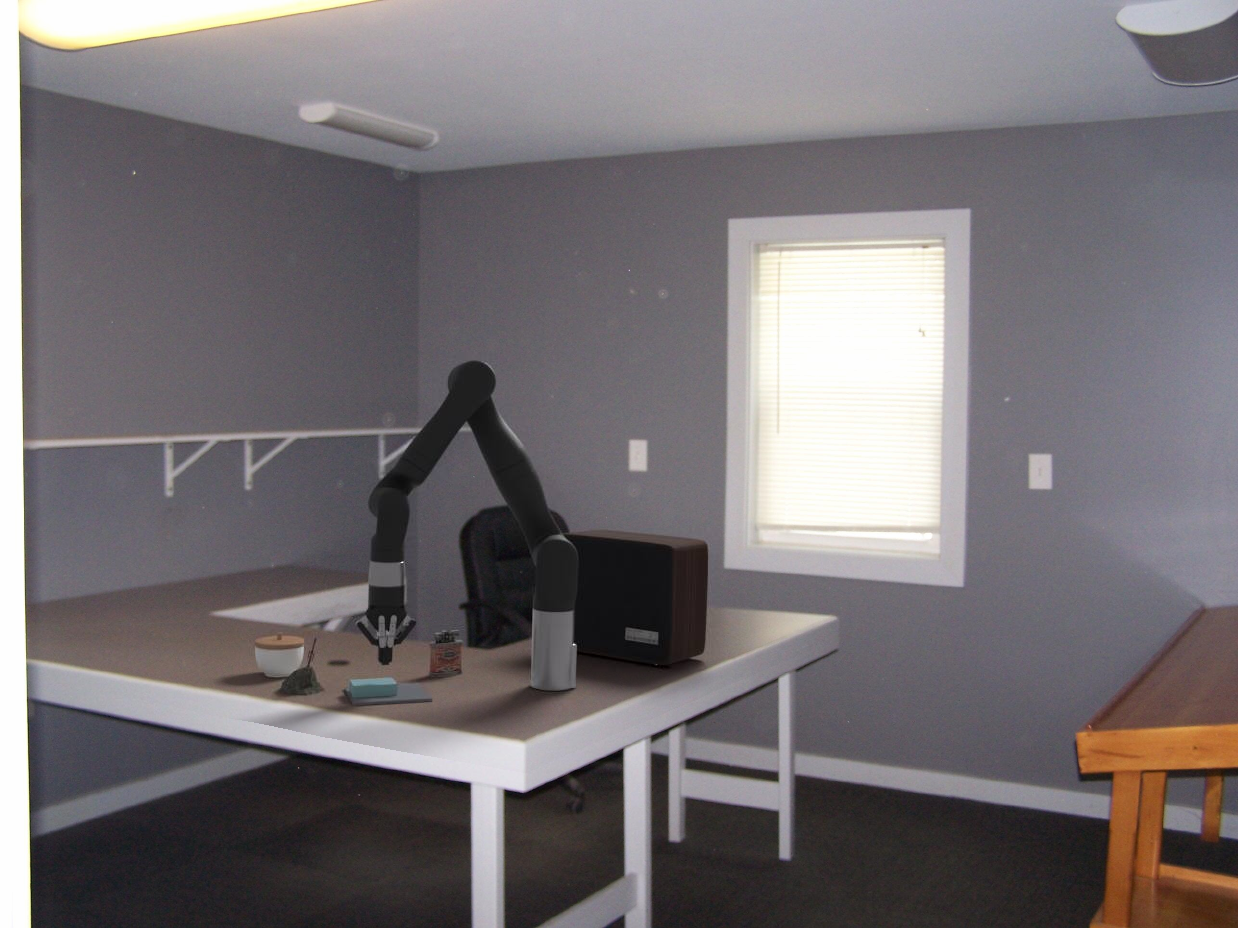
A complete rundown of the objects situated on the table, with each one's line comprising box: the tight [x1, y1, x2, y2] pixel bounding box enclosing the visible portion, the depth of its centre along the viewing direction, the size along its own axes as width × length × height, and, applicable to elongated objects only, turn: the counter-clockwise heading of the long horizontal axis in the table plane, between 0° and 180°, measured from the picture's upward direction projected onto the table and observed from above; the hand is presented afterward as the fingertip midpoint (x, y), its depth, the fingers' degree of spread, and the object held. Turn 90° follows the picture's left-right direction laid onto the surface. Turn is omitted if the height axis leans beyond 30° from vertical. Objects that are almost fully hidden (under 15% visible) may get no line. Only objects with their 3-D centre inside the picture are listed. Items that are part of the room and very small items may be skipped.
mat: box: [344, 682, 433, 707], centre depth 256 cm, size 16×14×1 cm
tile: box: [349, 677, 398, 698], centre depth 256 cm, size 2×6×9 cm
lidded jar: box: [254, 632, 305, 678], centre depth 273 cm, size 11×11×9 cm
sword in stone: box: [279, 637, 325, 697], centre depth 259 cm, size 10×8×12 cm
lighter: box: [428, 629, 464, 678], centre depth 278 cm, size 8×3×10 cm, turn 126°
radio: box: [562, 529, 709, 666], centre depth 305 cm, size 36×18×30 cm, turn 56°
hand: (385, 664), depth 256 cm, fingers closed
